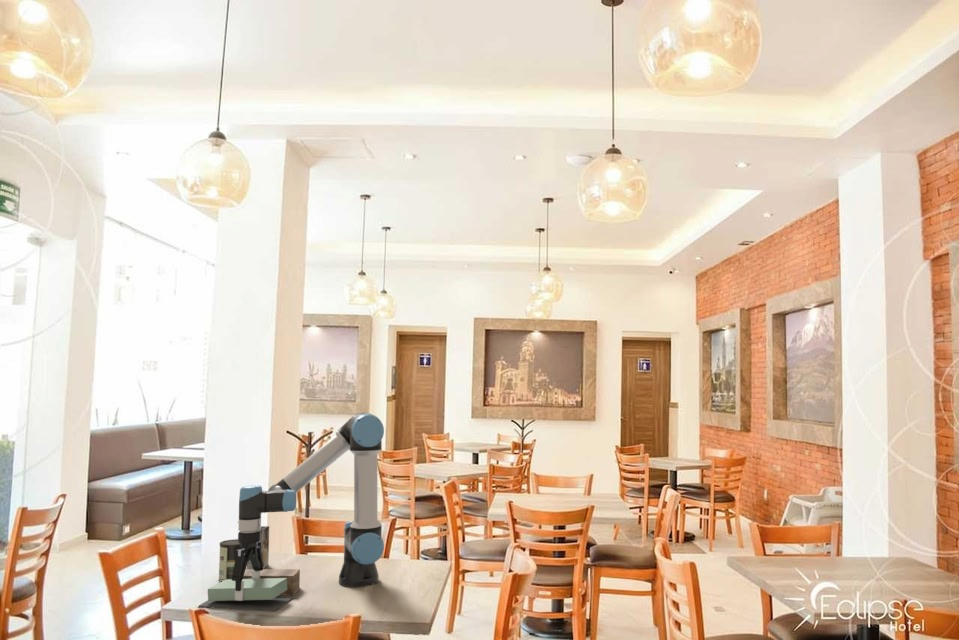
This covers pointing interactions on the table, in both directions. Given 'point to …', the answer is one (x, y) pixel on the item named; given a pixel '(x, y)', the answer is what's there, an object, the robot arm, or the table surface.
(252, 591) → the lid
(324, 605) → the table surface
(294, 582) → the box
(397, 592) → the table surface
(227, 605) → the mat
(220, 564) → the coffee can
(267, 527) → the coffee box
